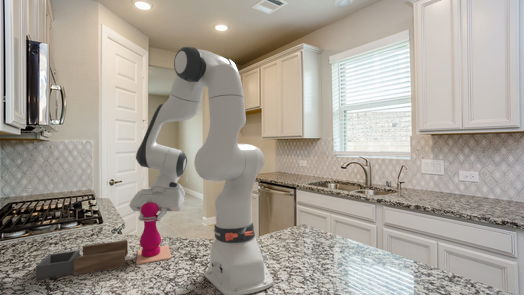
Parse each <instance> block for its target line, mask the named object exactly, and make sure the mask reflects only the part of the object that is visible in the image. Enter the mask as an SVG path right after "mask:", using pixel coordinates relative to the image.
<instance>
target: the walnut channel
mask: <svg viewBox="0 0 524 295" xmlns="http://www.w3.org/2000/svg"><path fill="white" fill-rule="evenodd" d="M128 246H129V245H128V239H124V240H123V239H122V240H116V241H110V242H103V243H96V244H88V245H86V244H85V245H82V255H80V256H78V257H75V258H74V267H75V270H74V275H81V274H82V275H83V274H86V273H92V272H99V271H106V270H111V269H116V268H123V267H124V268H125V267H126V256H127V254H129V251H128V250H129V249H128V248H129V247H128Z"/></svg>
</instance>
